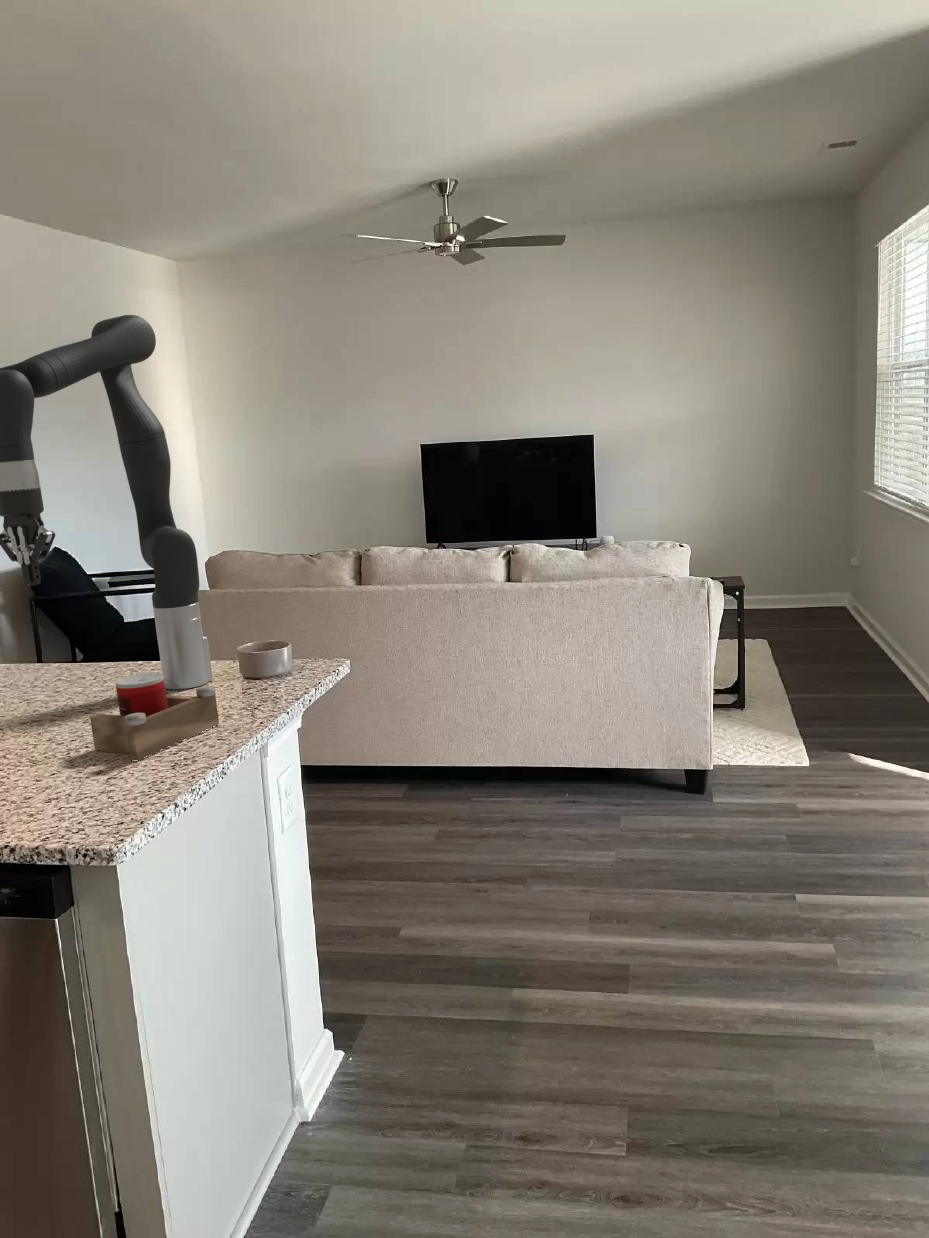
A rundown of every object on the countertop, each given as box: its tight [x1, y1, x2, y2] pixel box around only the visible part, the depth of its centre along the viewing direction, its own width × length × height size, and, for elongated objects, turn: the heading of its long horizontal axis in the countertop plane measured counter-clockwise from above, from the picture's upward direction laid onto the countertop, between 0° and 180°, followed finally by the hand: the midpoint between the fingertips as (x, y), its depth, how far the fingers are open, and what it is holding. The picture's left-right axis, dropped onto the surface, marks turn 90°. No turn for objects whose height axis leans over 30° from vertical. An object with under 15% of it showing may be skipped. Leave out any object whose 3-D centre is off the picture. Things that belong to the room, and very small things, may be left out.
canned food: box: [115, 672, 168, 717], centre depth 169 cm, size 8×8×11 cm
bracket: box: [89, 685, 220, 761], centre depth 170 cm, size 13×20×7 cm, turn 154°
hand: (32, 584), depth 178 cm, fingers closed
